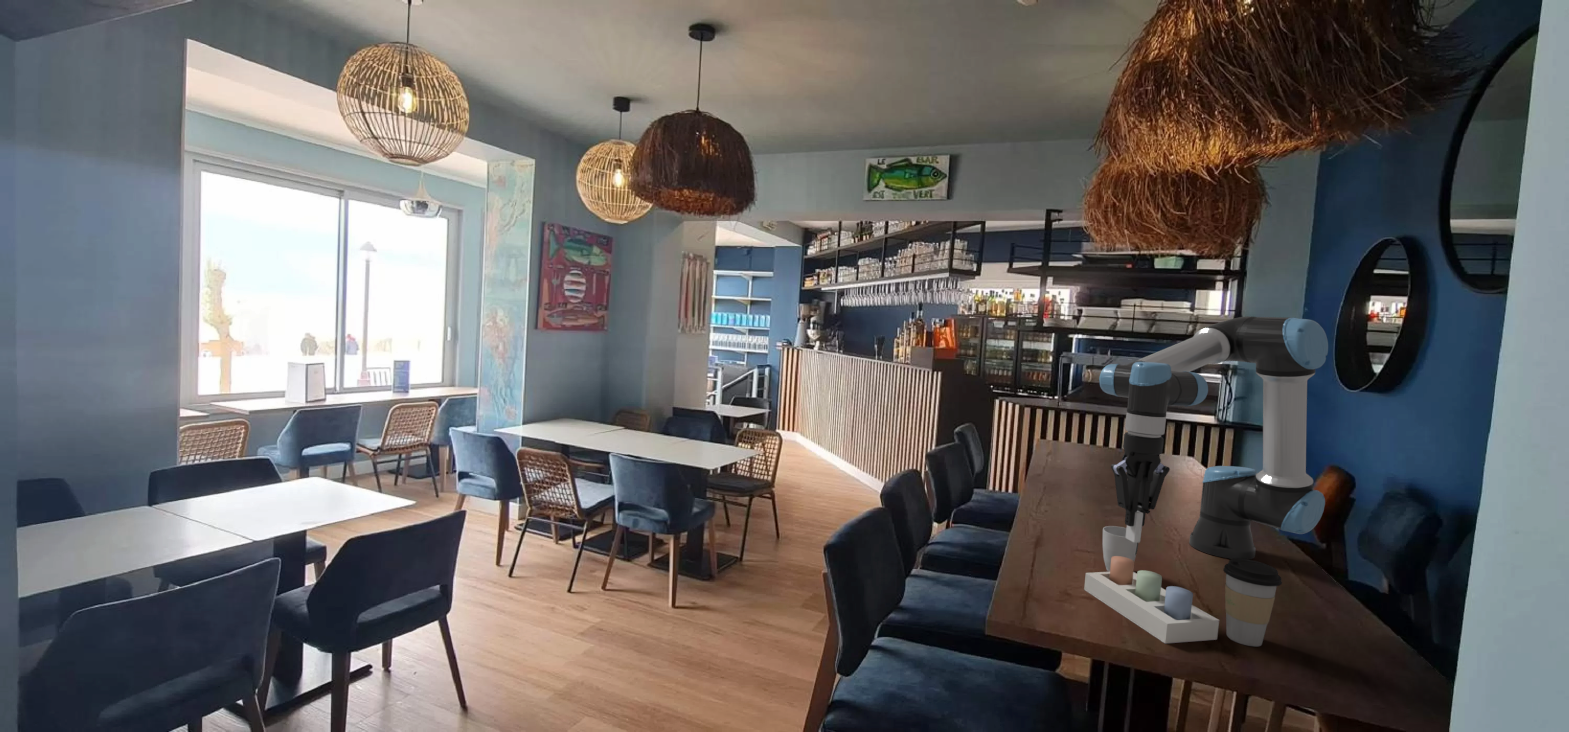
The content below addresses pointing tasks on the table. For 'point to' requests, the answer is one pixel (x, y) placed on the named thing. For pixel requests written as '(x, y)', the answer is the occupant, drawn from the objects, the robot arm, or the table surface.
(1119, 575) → the terracotta cap
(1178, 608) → the slate cap
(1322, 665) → the table surface
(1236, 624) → the coffee cup
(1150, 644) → the table surface
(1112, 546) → the cup
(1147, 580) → the sage cap
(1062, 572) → the table surface
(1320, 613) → the table surface
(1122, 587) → the button board
